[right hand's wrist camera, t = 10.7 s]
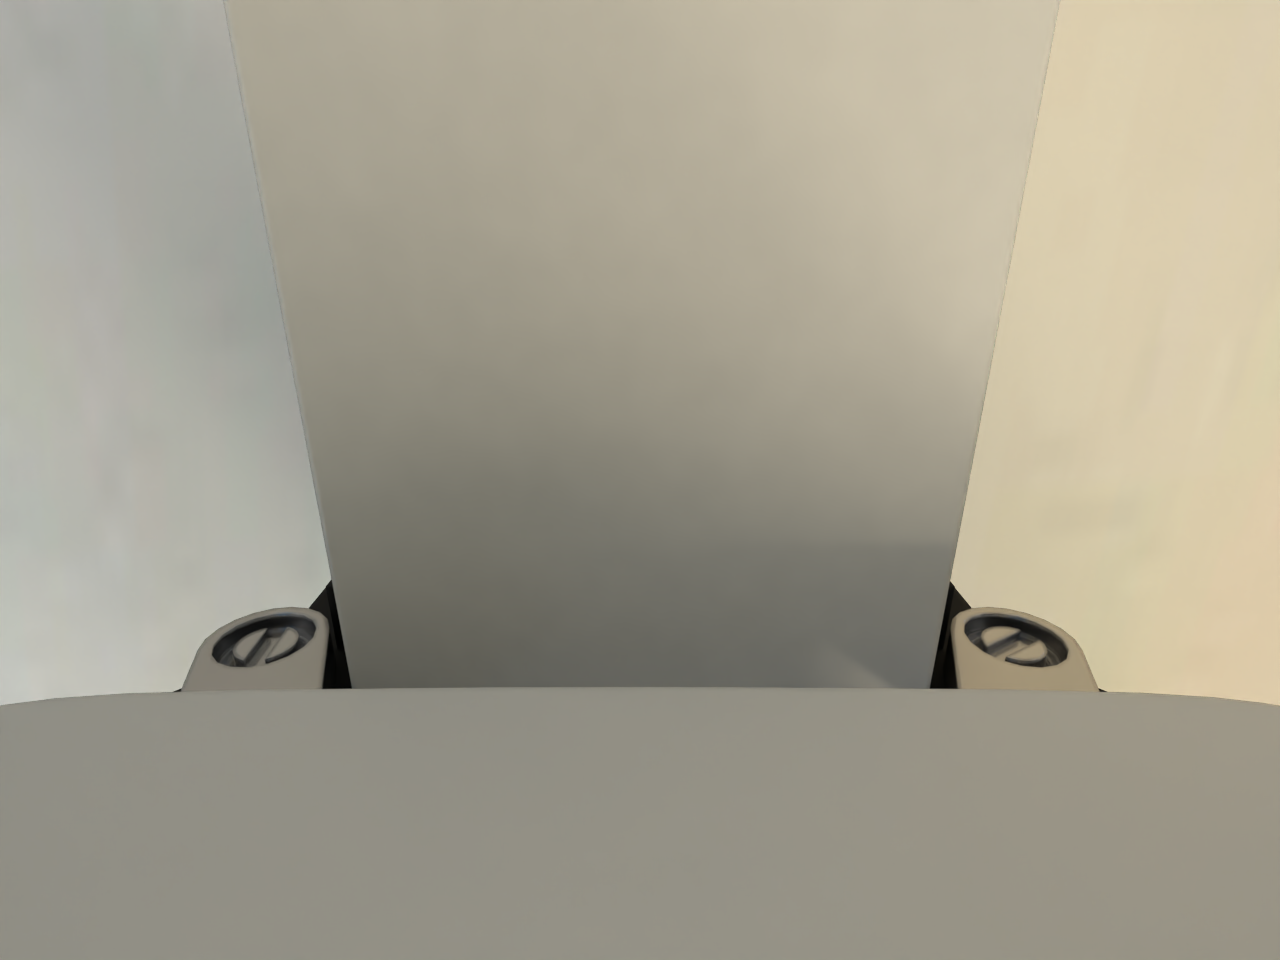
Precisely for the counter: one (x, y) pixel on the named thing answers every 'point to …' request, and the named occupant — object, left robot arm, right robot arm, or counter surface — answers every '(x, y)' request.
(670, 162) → the beam
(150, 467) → the counter surface
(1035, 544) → the counter surface
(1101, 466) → the counter surface
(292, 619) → the right robot arm
